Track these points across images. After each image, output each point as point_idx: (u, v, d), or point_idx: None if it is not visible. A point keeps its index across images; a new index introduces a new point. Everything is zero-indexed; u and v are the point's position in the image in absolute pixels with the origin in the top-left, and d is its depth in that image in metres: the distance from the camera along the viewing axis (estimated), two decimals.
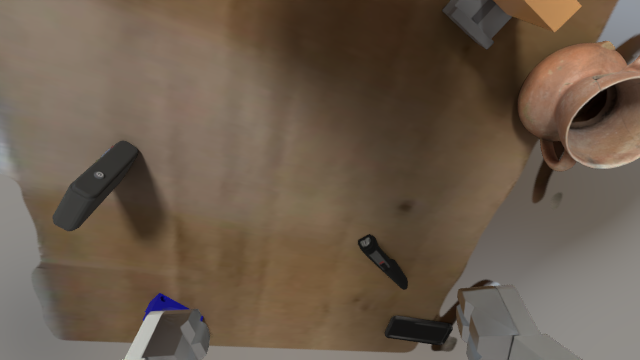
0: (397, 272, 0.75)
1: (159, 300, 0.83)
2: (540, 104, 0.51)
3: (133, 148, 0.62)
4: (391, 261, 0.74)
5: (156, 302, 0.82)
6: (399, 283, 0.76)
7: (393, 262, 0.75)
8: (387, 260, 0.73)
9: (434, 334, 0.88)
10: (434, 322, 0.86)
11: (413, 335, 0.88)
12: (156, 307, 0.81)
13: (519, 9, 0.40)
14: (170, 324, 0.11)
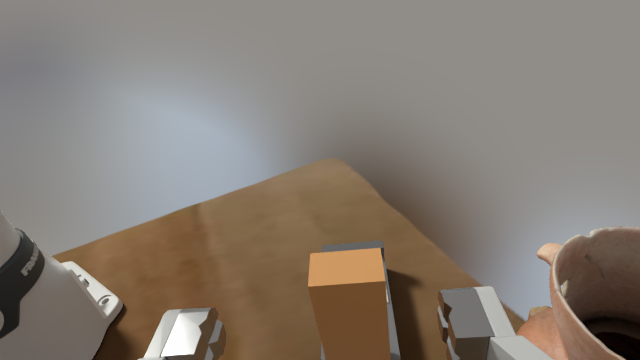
0: None
1: None
2: None
3: None
4: None
5: None
6: None
7: None
8: None
9: None
10: None
11: None
12: None
13: (351, 326, 0.26)
14: (188, 323, 0.11)
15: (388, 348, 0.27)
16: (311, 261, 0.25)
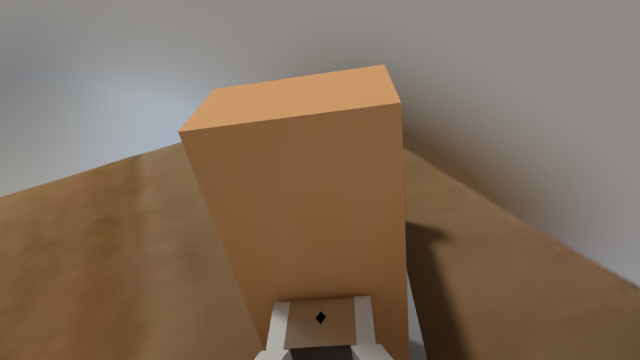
0: None
1: None
2: None
3: None
4: None
5: None
6: None
7: None
8: None
9: None
10: None
11: None
12: None
13: (314, 263, 0.10)
14: (303, 315, 0.10)
15: (404, 322, 0.12)
16: (210, 97, 0.10)
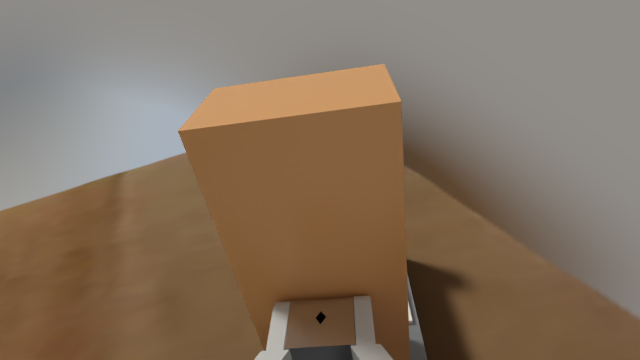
0: None
1: None
2: None
3: None
4: None
5: None
6: None
7: None
8: None
9: None
10: None
11: None
12: None
13: (314, 262, 0.10)
14: (303, 315, 0.10)
15: (405, 321, 0.12)
16: (210, 97, 0.10)
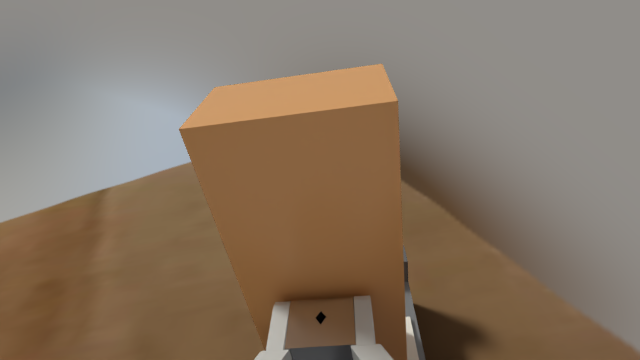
0: None
1: None
2: None
3: None
4: None
5: None
6: None
7: None
8: None
9: None
10: None
11: None
12: None
13: (312, 259, 0.10)
14: (303, 315, 0.10)
15: (402, 318, 0.12)
16: (210, 95, 0.10)
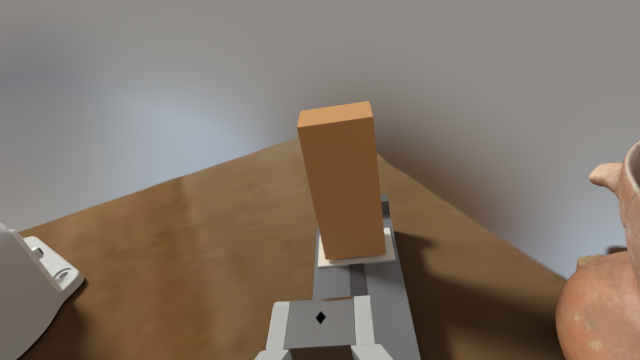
0: None
1: None
2: None
3: None
4: None
5: None
6: None
7: None
8: None
9: None
10: None
11: None
12: None
13: (342, 179, 0.26)
14: (303, 315, 0.10)
15: (380, 208, 0.27)
16: (301, 114, 0.26)
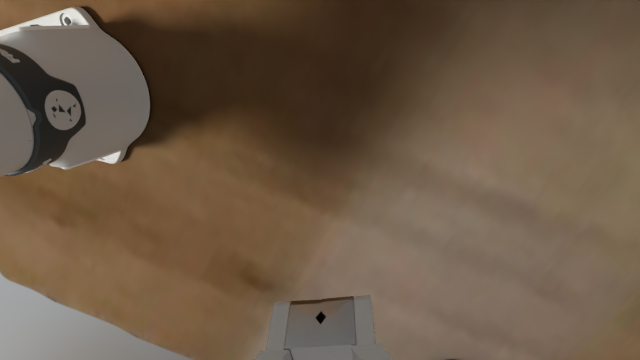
0: None
1: None
2: None
3: None
4: None
5: None
6: None
7: None
8: None
9: None
10: None
11: None
12: None
13: None
14: (303, 315, 0.10)
15: None
16: None
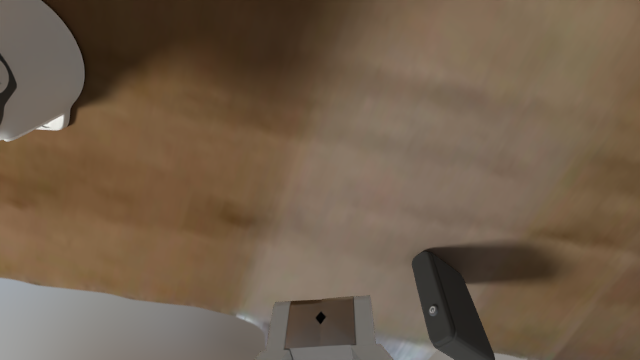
0: None
1: None
2: None
3: (422, 254, 0.55)
4: None
5: None
6: None
7: None
8: None
9: None
10: None
11: None
12: None
13: None
14: (303, 315, 0.10)
15: None
16: None
